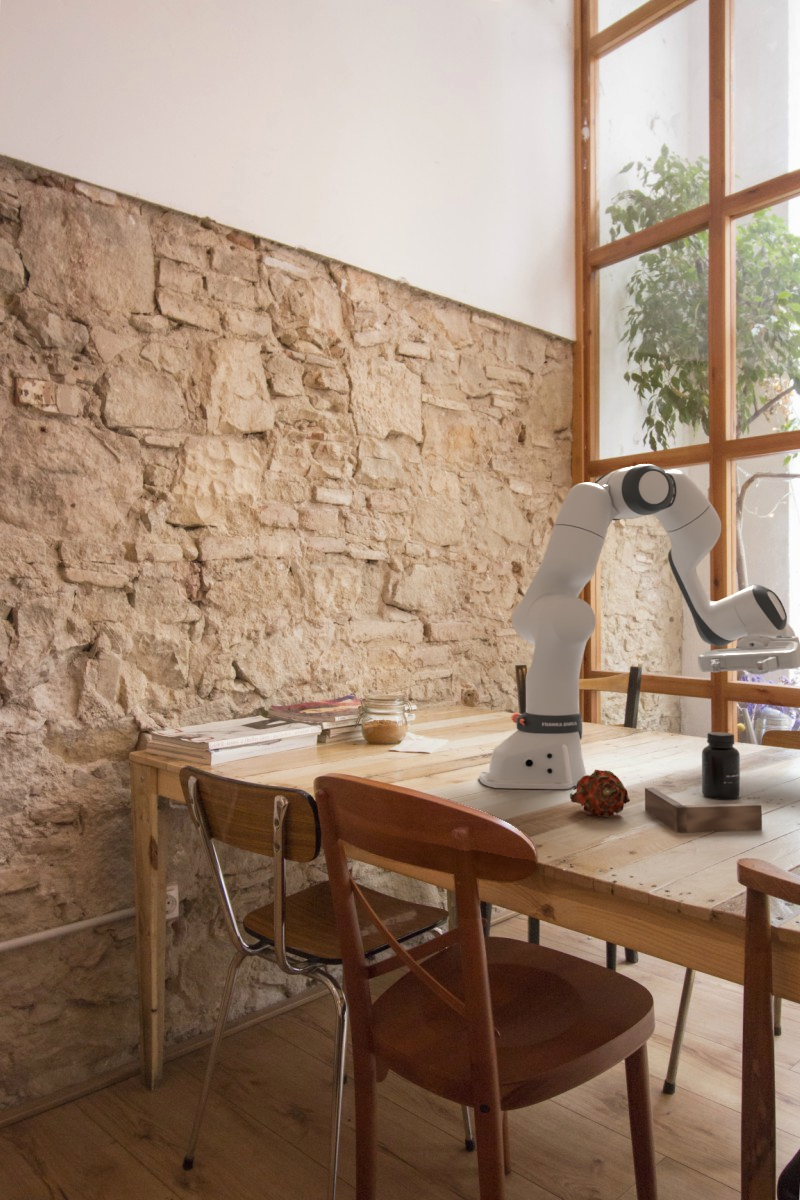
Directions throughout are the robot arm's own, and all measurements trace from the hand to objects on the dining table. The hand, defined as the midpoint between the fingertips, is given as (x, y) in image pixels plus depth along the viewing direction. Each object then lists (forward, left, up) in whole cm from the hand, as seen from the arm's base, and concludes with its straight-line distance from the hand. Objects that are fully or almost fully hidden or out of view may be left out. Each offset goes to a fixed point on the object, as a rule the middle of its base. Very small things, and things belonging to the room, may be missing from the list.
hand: (737, 667), depth 174 cm
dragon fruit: (-35, -21, -24) cm, 47 cm away
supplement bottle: (-8, -10, -24) cm, 27 cm away
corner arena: (-19, -27, -24) cm, 40 cm away
